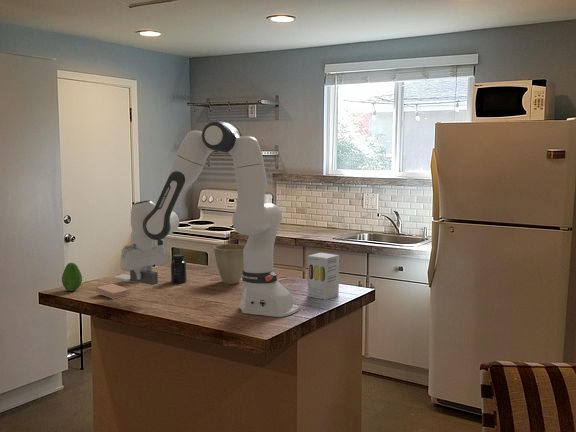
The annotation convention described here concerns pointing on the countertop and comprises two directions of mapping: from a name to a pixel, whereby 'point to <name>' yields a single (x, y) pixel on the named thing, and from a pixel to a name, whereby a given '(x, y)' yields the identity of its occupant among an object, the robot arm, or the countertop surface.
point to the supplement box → (323, 276)
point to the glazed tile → (112, 291)
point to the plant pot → (229, 262)
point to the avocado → (71, 277)
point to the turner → (148, 278)
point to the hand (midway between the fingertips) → (143, 278)
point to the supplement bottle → (178, 269)
